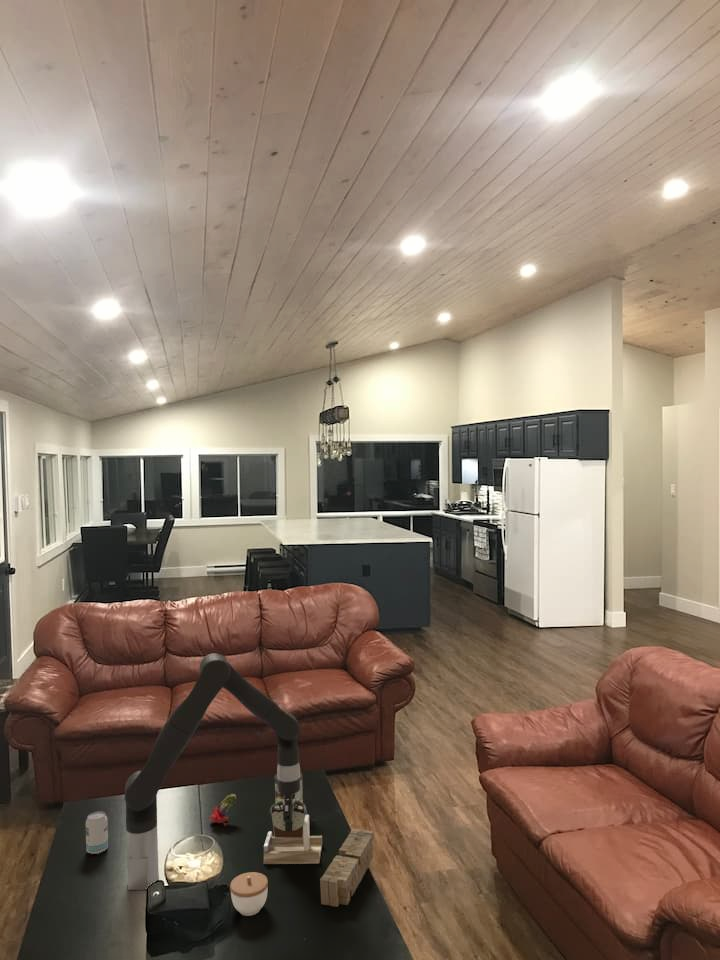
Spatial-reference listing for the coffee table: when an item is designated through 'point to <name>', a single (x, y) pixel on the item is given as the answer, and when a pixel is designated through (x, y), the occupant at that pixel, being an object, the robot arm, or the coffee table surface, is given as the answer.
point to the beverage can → (96, 833)
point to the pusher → (306, 833)
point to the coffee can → (280, 796)
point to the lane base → (291, 850)
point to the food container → (296, 821)
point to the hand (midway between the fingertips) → (289, 826)
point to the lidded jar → (249, 892)
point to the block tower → (347, 868)
